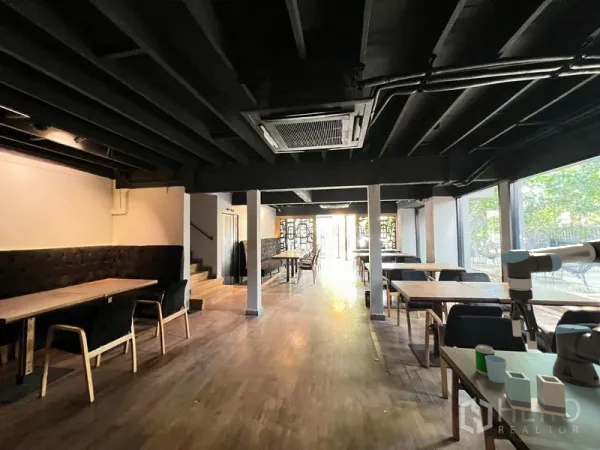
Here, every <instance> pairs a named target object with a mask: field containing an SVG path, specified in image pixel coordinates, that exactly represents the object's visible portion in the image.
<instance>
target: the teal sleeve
mask: <svg viewBox="0 0 600 450" xmlns="http://www.w3.org/2000/svg"><path fill="white" fill-rule="evenodd" d="M504 383H505V394H506V397H507V399H508V400H509V402H510V404H511V405H513V406H519V407H526V408H531V398H532V396H531V380H530V379H529V377H528V376H527V375H526V374H525V373H524V372H521V371H520V372H519V371H512V370H511V371H510V370H506V371H505V382H504ZM507 399H506V400H507ZM510 404H509V405H510Z"/></svg>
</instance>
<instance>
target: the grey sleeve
mask: <svg viewBox="0 0 600 450" xmlns="http://www.w3.org/2000/svg"><path fill="white" fill-rule="evenodd" d="M535 378H536V381H535V382H536V399H537V401H538V402H539V404H540V405H541V406H542V407H543V409H544V410H545V411H552V412H559V413H565V414H566V413H567V411H566V393H565V392H566V391H565V388H566V387H565V384H564V383H563V382H562V380H561V379H559V378H557V377H556V376H555V375H544V374H538V373H536V374H535Z"/></svg>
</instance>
